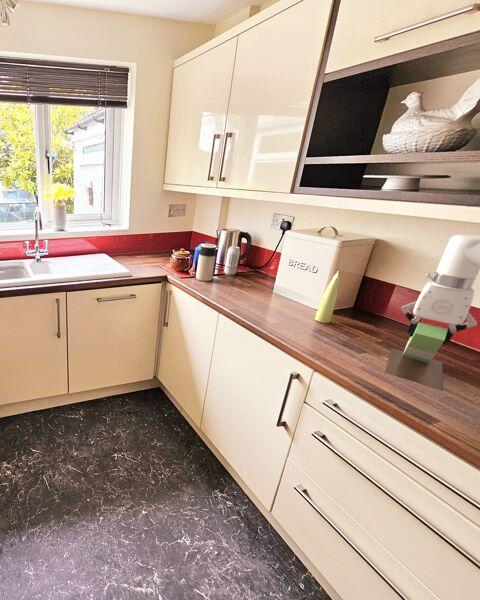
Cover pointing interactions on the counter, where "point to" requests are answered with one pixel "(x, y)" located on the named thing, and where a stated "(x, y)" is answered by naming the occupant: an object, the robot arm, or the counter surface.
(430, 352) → the block
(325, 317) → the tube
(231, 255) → the white bottle
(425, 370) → the stand
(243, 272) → the counter surface
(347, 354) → the counter surface
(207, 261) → the travel mug
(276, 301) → the counter surface
